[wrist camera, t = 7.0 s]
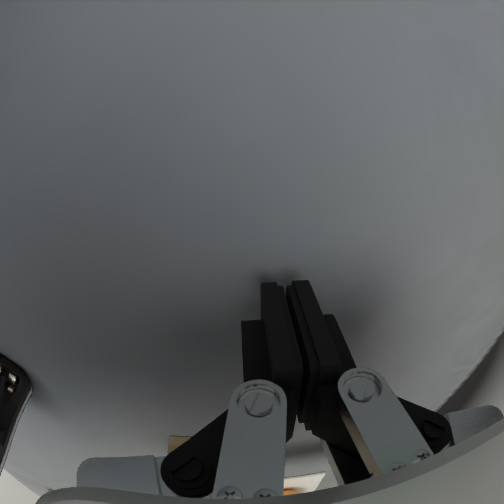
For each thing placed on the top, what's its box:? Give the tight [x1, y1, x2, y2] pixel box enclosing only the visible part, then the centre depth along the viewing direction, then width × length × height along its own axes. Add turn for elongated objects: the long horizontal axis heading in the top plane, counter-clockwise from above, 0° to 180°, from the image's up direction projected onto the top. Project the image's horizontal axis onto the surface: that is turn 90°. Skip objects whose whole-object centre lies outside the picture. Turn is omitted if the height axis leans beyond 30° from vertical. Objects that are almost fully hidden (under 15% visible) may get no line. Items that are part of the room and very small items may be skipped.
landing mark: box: [284, 472, 326, 493], centre depth 25 cm, size 12×12×1 cm
